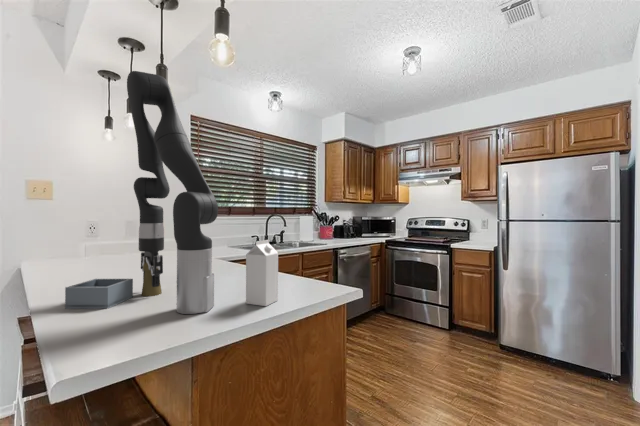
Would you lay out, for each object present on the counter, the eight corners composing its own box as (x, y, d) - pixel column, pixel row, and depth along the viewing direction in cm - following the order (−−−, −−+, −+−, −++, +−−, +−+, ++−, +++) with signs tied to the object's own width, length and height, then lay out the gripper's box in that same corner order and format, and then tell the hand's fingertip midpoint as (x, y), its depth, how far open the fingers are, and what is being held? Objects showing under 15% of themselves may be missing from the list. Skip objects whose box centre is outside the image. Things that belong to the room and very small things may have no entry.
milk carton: (245, 304, 92) (245, 241, 93) (258, 298, 99) (259, 239, 99) (265, 306, 90) (266, 242, 90) (278, 300, 96) (278, 240, 96)
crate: (132, 297, 100) (132, 278, 100) (107, 308, 88) (107, 287, 88) (95, 297, 99) (95, 278, 99) (65, 308, 87) (65, 287, 87)
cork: (152, 296, 100) (153, 263, 100) (136, 295, 101) (137, 262, 101) (165, 292, 106) (165, 260, 106) (150, 291, 107) (150, 259, 107)
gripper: (171, 237, 101) (170, 286, 101) (156, 235, 111) (155, 279, 111) (146, 238, 96) (145, 290, 96) (132, 236, 106) (132, 282, 106)
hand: (151, 284), depth 104 cm, fingers open, 8 cm apart
